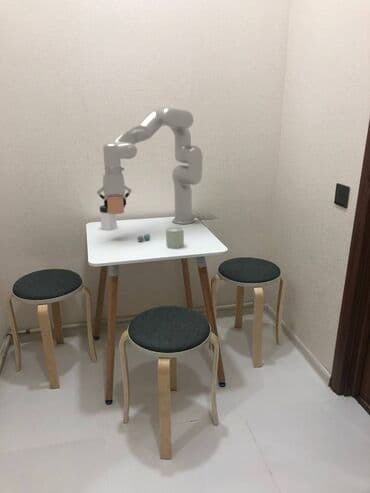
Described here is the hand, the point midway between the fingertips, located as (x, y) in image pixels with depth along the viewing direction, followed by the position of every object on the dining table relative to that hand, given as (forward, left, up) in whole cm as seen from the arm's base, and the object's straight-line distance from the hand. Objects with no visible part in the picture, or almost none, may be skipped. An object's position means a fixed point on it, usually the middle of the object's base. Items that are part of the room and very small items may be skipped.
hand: (115, 207), depth 190 cm
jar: (+2, -21, -16) cm, 27 cm away
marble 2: (-14, +9, -14) cm, 22 cm away
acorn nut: (-24, +20, -16) cm, 35 cm away
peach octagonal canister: (0, 0, -2) cm, 2 cm away
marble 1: (-10, +10, -14) cm, 20 cm away
